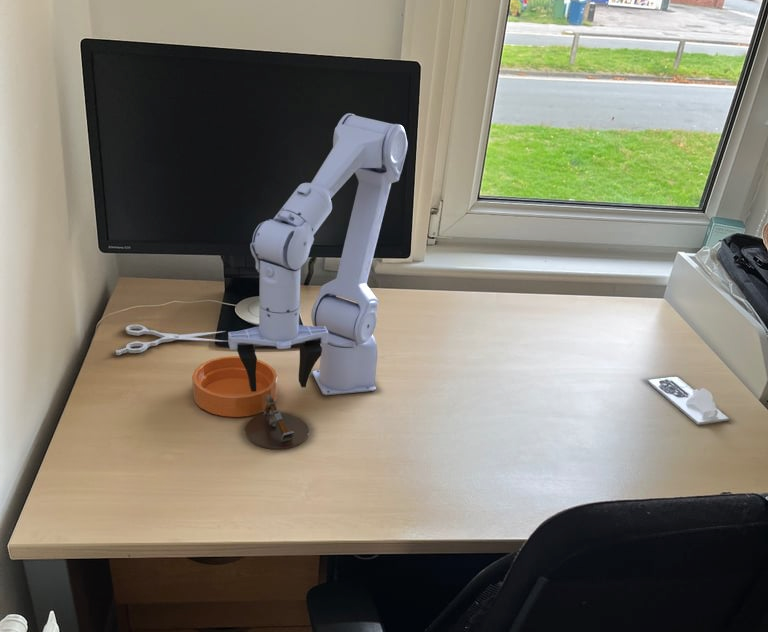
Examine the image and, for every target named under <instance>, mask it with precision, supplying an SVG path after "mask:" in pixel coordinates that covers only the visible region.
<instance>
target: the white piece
mask: <svg viewBox="0 0 768 632" xmlns="http://www.w3.org/2000/svg"><path fill="white" fill-rule="evenodd" d="M647 383H648V384H649V385H650V386H651V387H652V388H654V389H655V390H656V391H657V392H658V393H660V394H661V395H662V396H663V397H665V399H667V400H668V401H669V403H670V402H671V403H672V404H673V405H674V406H675V407H676V408H678V410H680V411H681V413H683V414H684V415H685V416H687V417H688V418H689V419H690V420H691V421H693V422H694V424H696V425H697V426H698V425H707V424H714V423H721V422H728V421H729V419H730V417H728V416H727V415H726V414H724V413H723V412H722V411H721V410H720V409H718V408H717V405H716V402H715V401H714V396H713V394H712V393H711V391H710V390H708V389H707V388H705V387H700V389H698V388H696V389H694V388H693V387H691V386H690V385H688V383H686V382H684V381H683V380H682V379H681V378H680V377H678V376H669V377H659V378H653V379H652V378H651V379H647Z"/></svg>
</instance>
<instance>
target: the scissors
mask: <svg viewBox="0 0 768 632" xmlns="http://www.w3.org/2000/svg"><path fill="white" fill-rule="evenodd" d="M135 329H136V330H135ZM137 329H138V330H137ZM225 332H226V330H224V331H223V330H222V331H221V333H225ZM125 333H126V334H128V335H131V336H138V337H139V336H143V335H151V336H152V335H153V336H156V337H158V339H156V340H152V341H139V340H136V341H132V342H129V343H127V344H126V345H125V347H124V348H121V349H116V350H115V356H120V355H123V354H126V353H129V354H140V353H143V352H145V351H147V349H149V348H150V347H155V346H158V345H159V344H162V343H169V342H173V341H198V342H226V340H223V339H222V340H221V339H220V340H219V339H213V338H201V336H207V335H213V334H218V333H220V331H210V332H209V331H207V332H193V333H184V334H177V333H169V332H168V333H166V332H159V331H157V330H153V329H148V328H147V327H146V326H144V325H142V324H129V325H127V326H125ZM199 336H200V337H199ZM134 347H136V348H134ZM138 347H139V348H138Z"/></svg>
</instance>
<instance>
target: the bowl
mask: <svg viewBox="0 0 768 632" xmlns="http://www.w3.org/2000/svg"><path fill="white" fill-rule="evenodd" d="M191 379H192V380H191V381H192V396H193V400H194V403H195V404H196V405H197V406H198V407H199V408H200V409H202V410H204V411H206V412H208V413H210V414H214V415H216V416H221V417H231V418H240V417H241V418H242V417H251V416H254V415H256V414H260V413H264V409H265V408H266V406H267V402H266V396H267V395H269V396H270V397H273V400H274V402H275V403H276V402H277V396H278V374H277V372H276V370H275V368H273V367H272V366H271V365H270V364H269V363H266V362H265V361H263V360H260V359H257V363H256V391H255V392H252V391H251V389H250V386H249V379H248V374H247V371H246V369H245V367H244V365H243V363H242V361H241V359H240V357H239V355H232V356H231V355H230V356H221V357H220V356H219V357H217V358H213V359H209V360H207V361H204V362H203V363H201V364H199V365H198V366H197V367H196V368H195V369H194V371H193V373H192V377H191Z"/></svg>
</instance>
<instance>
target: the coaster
mask: <svg viewBox="0 0 768 632" xmlns="http://www.w3.org/2000/svg"><path fill="white" fill-rule="evenodd" d="M279 413H280V415H281V417H282V418H283V419H282V420H283V422H284V424H285V425H286V427H287V428H288V429H289V430H290V432H291V431H293V432H294V435H293V437H292V439H290V440H286V441H283V442H282V441H281V438H282V434H281V431H280V429H279V426H278V424H277V423H276V427H273V426H270V423H269V421H267V420H268V415H267V416H264V414H263V413H262V414H259V415H256V416H254V417H253V418H251V419H250V420H248V421H247V422H246V425H245V426H244V435H245V437H246V439H247V440H248V441H249V442H250V443H252V444H253V445H255V446H257V447H260V448H263V449H265V450H273V451H276V450H277V451H280V450H281V451H282V450H289V449H293V448H296V447H298V446H300V445H302V444H303V443H305V441H306V440H307V439H308V437H309V434H310V429H309V426H308V424H307V423H306V422H305V421H304V420H303V419H301V418H300V417H298V416H296V415H294V414H290V413H286V412H285V413H284V412H279ZM270 414H271V416H272V412H270Z"/></svg>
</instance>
